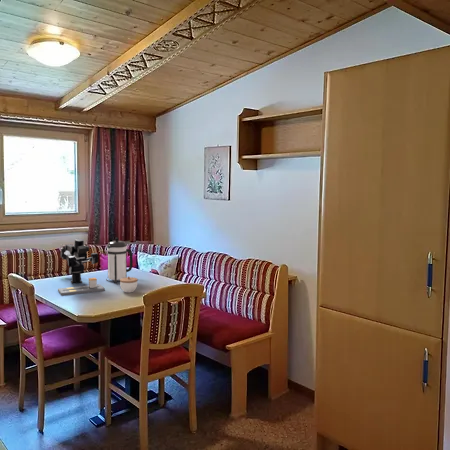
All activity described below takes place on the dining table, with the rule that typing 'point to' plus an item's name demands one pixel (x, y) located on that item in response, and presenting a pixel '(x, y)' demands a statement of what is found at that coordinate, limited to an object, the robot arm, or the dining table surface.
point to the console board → (80, 290)
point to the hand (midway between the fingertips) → (87, 264)
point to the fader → (92, 282)
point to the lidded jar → (128, 284)
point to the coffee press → (118, 260)
